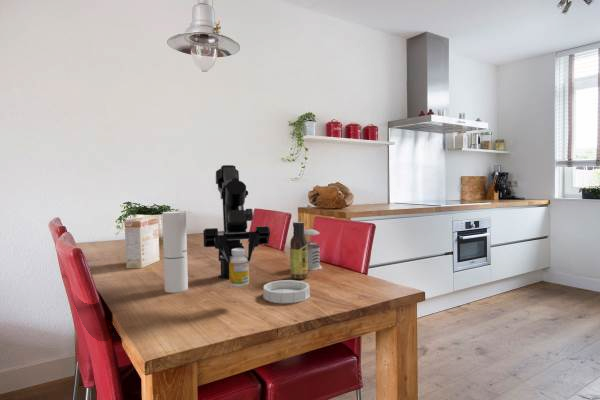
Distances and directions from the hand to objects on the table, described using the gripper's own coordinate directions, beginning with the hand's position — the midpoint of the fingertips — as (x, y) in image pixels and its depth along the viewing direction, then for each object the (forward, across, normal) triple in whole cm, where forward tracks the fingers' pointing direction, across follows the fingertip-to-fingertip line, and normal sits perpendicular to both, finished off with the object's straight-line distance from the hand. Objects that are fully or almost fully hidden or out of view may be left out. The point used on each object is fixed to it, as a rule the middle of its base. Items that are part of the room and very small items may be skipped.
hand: (239, 261), depth 106 cm
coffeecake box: (-37, -34, +57) cm, 76 cm away
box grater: (-18, +31, +37) cm, 52 cm away
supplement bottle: (+4, 0, +6) cm, 7 cm away
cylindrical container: (-7, -18, +26) cm, 32 cm away
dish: (+5, +14, +13) cm, 20 cm away
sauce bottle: (-9, +23, +28) cm, 37 cm away
